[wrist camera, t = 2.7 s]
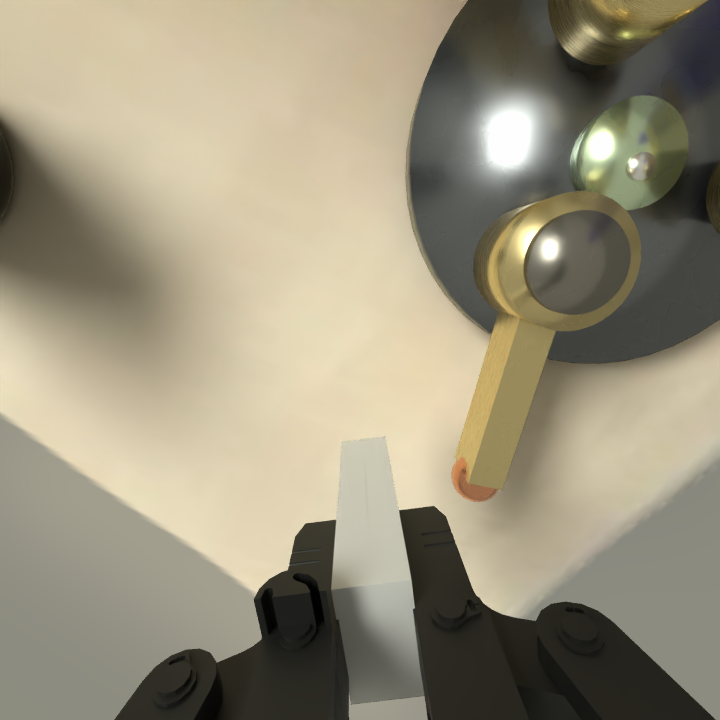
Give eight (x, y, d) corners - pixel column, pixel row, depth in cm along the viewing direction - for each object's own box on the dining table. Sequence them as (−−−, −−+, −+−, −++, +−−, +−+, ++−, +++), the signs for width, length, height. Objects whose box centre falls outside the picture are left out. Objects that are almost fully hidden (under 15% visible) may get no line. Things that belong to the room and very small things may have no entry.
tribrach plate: (465, -120, 15) (488, -199, 13) (865, -2, 17) (962, -52, 14) (367, 315, 19) (369, 323, 17) (697, 387, 20) (748, 406, 18)
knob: (490, 194, 16) (534, 173, 12) (595, 220, 16) (672, 207, 12) (414, 470, 19) (430, 525, 15) (505, 488, 19) (544, 546, 15)
